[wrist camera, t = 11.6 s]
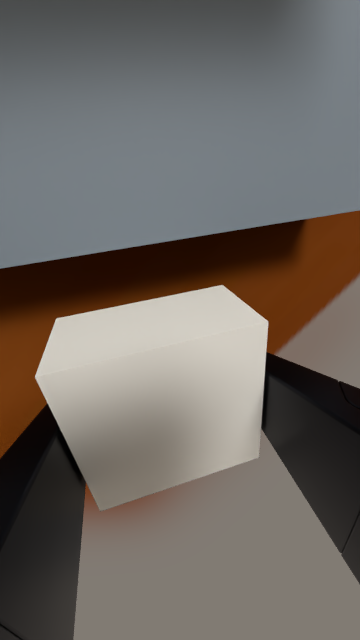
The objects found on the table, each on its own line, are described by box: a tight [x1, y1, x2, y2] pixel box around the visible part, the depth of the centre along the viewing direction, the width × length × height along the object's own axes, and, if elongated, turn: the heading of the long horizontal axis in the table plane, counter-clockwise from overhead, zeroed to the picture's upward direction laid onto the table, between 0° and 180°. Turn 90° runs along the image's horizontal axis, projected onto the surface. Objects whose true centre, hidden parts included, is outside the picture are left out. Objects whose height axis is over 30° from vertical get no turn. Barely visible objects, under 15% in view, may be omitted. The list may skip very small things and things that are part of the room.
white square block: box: [35, 285, 268, 511], centre depth 8 cm, size 5×5×3 cm
